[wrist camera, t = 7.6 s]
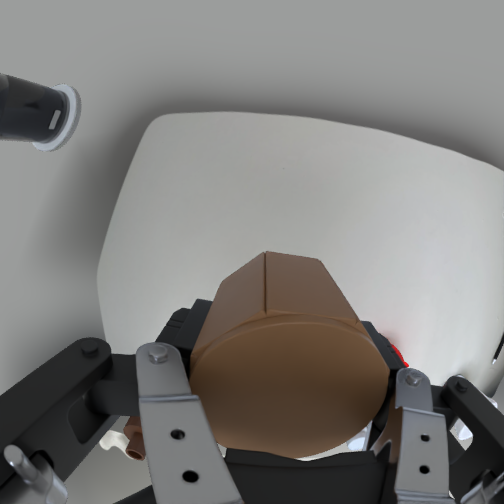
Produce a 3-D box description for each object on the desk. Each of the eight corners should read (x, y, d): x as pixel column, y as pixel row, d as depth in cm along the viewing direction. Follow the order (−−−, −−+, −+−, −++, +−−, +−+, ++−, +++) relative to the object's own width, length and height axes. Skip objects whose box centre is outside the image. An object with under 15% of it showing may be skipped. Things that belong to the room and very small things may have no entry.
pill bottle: (356, 419, 44) (366, 450, 36) (334, 420, 44) (342, 452, 36) (364, 403, 43) (376, 435, 35) (341, 404, 43) (350, 437, 35)
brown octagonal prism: (213, 355, 13) (186, 447, 7) (225, 244, 12) (189, 304, 6) (323, 368, 13) (347, 459, 7) (354, 264, 12) (419, 330, 6)
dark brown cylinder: (143, 407, 45) (119, 457, 32) (141, 384, 44) (111, 437, 30) (175, 416, 45) (156, 470, 32) (175, 393, 44) (153, 451, 30)
